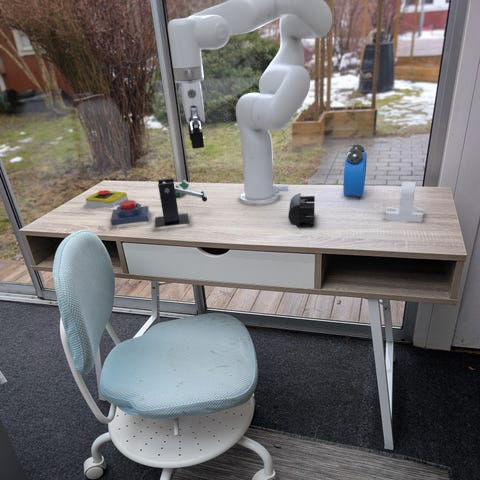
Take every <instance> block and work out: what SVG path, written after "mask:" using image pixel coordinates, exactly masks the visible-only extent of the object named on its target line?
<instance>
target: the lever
mask: <svg viewBox="0 0 480 480" xmlns="http://www.w3.org/2000/svg"><path fill="white" fill-rule="evenodd" d="M163 183H167V182H163ZM174 188H175V192H178V193H181V194H182V195H187V196H192V197H196V198H200V199H201V200H202V202H204V203H205V202H207V201H208V197H207V193H206V191H204V190H202V191H201V192H196V191H192V190H189V189H185V190H184V189H180V188H176V186H175V187H174Z"/></svg>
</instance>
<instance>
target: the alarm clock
mask: <svg viewBox="0 0 480 480" xmlns="http://www.w3.org/2000/svg"><path fill="white" fill-rule="evenodd" d="M367 159H368V155H367V152H366V151H365V147H364V146H363V145H362V144H360V143H359V144H358V143H356V144H352V145H351V146H350V147H349V148H348V152H346V154H345V159H344V170H343V182H342V183H343V185H342V186H343V187H342V189H343V190H342V191H343V195H344V196H345V197H347V196H348V197H358V199H359V200H361V197H363V195H364V192H365V185H366V174H367V162H368V161H367Z"/></svg>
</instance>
